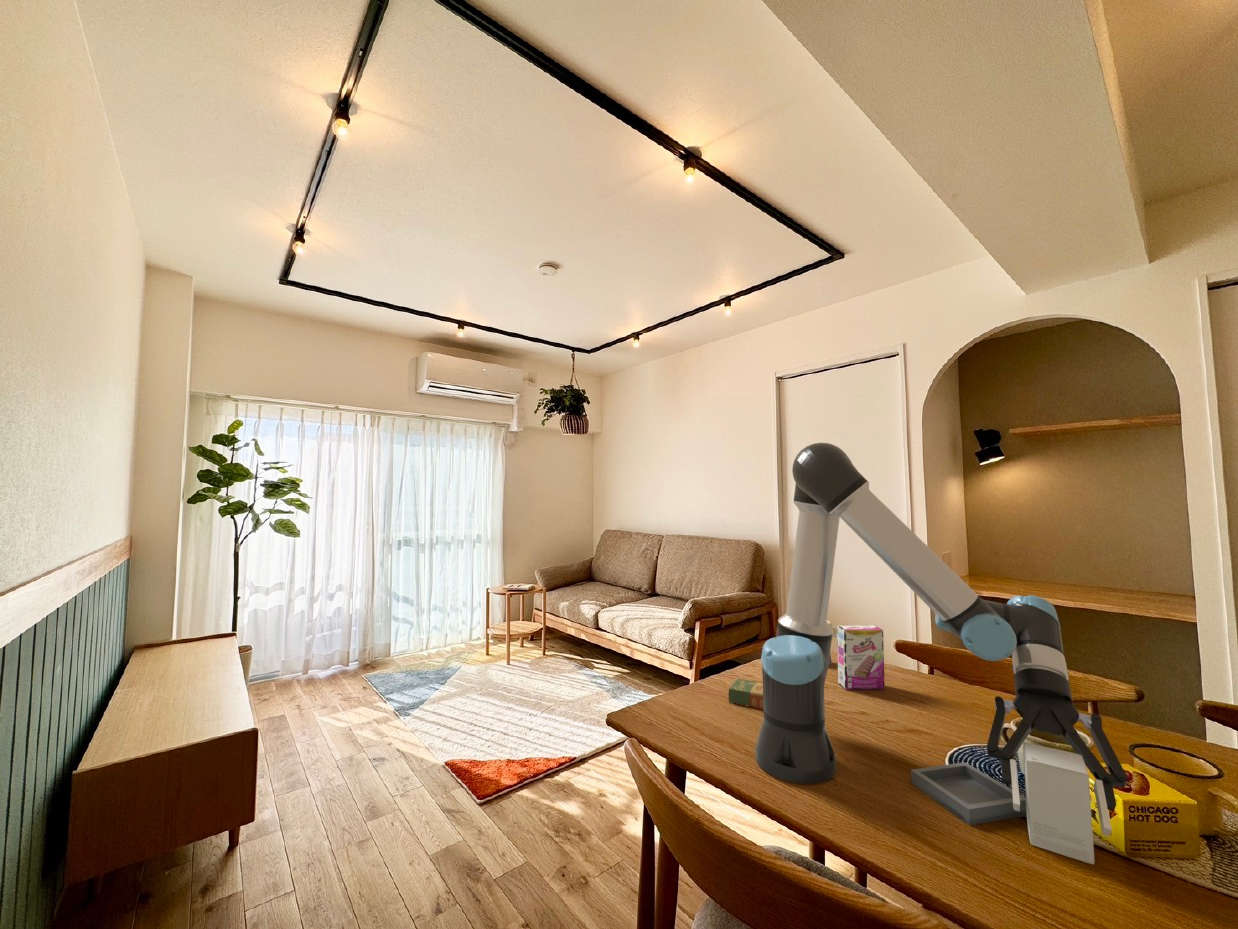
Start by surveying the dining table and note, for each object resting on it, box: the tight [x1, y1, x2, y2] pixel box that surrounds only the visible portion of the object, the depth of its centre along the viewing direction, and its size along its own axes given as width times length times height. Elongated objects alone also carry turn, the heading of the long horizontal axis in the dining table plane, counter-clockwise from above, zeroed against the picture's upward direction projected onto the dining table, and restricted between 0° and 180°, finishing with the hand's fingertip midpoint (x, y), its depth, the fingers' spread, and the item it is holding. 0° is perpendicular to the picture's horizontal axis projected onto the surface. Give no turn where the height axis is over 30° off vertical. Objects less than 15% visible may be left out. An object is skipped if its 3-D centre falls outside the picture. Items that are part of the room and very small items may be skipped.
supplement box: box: [1022, 741, 1095, 865], centre depth 76 cm, size 7×7×13 cm
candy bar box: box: [836, 624, 885, 691], centre depth 139 cm, size 11×5×16 cm, turn 92°
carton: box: [728, 678, 763, 710], centre depth 128 cm, size 8×16×4 cm, turn 61°
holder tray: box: [910, 761, 1027, 826], centre depth 87 cm, size 12×12×2 cm
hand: (1060, 819), depth 74 cm, fingers open, 9 cm apart
